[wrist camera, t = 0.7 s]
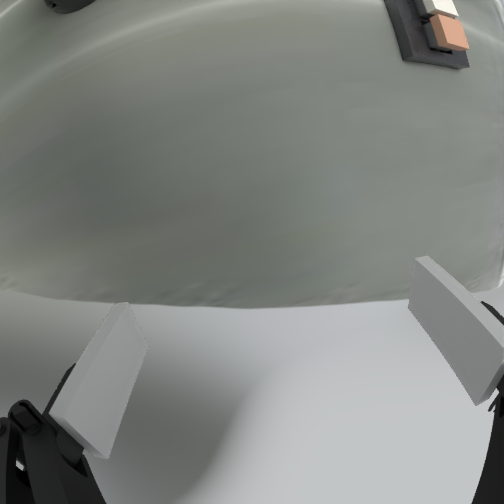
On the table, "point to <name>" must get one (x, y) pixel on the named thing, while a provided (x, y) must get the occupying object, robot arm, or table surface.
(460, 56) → the keypad base
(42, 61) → the table surface
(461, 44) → the tan cube
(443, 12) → the cream key
